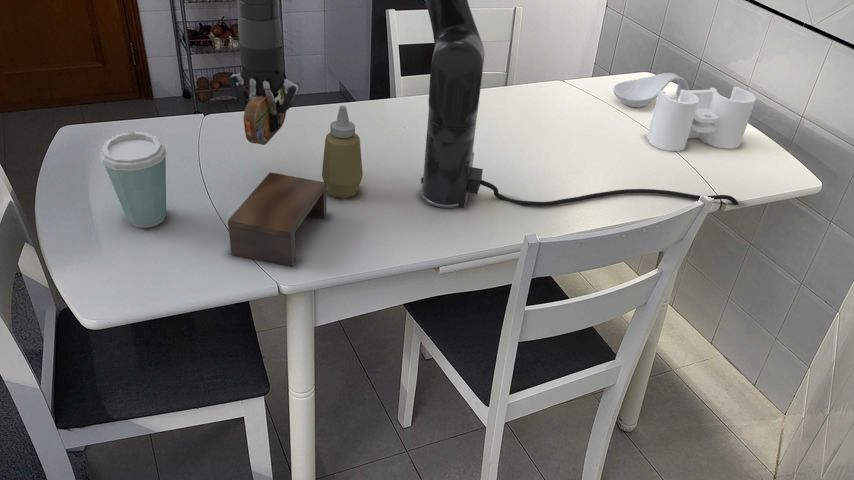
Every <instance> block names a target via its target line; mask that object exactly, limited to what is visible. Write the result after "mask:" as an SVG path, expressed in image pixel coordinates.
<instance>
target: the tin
mask: <svg viewBox="0 0 854 480" xmlns="http://www.w3.org/2000/svg"><path fill="white" fill-rule="evenodd" d="M279 91H280V102H281V104H282V103H283V101H284V99H285V96H286V93H285V89H284V88H283V86H282V87H281V89H280V90H279ZM270 114H271V111H270V106H269V104H268V102H267V98H266V96H264V95H257V96H256V97H253V98H252V99H251V100H250V101H249V102H248V104H247V106H246V107H244V112H243V126H244V133H245V138H246V140H247V141H248V142H249V143H251V144H255V145H261V146H265V145H267V144H268V143H269V142H270V140H272V138H273V137H274V136H275V135H276V134H277V133H278V132H279V131H280V130H281V129H282V127H283V125H284V123H285V121H286V115H287V111H286V112H285V113H284V114H282V113H281V127H280V128H279V129H278V131H277V132H276V133H274V132H271V122H270Z"/></svg>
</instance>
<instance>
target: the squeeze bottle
mask: <svg viewBox="0 0 854 480" xmlns="http://www.w3.org/2000/svg"><path fill="white" fill-rule="evenodd" d="M329 129H330V130H329V131H330V132H328V133H327V134H325V140H324V148H323V159H322V169H321V178H322V180H323V182H326V192H328V193H327V194H329V195H330V196H332V197H336V198H341V199H345V198H352V197H354V196H355V195H356V194H357V193H358V190H359V189H360V188H359V187H360V185H361V183H362V180H363V175H364V172H363V161H362V147H361V138H360V136H359V134H357V133H356V124H355V123H354V122H352V121H350V118H349V114H348V109H347V106H346V105H339V108H338V113H337V117H336V120H334V121H332V122H331V123H330V127H329Z"/></svg>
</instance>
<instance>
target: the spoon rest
mask: <svg viewBox="0 0 854 480" xmlns="http://www.w3.org/2000/svg"><path fill="white" fill-rule="evenodd" d="M673 81H676V82H677V88H676V91H675V94H676V95H677V96H678V97H679V95H680V91H681V90H686V91H688V90H690V87H689V83H688V81H687V80H686V79H684V78H683V77H680V76H679V75H678V74H676V73H673V72H663V73H659V74H654V75H650V76H646V77H642V78H636V79H632V80H626V81H621V82H619V83H615V85H614V86H613V88H612V91H613V94H614V96H615V97H616V99H617V100H618V101H619V102H620V103H622V104H623V105H625V106H627V107H630V108H636V109H637V108H638V109H639V108H645V107H646V106H648V105H650V104H651V103H652V102H654V101H655V100H657V97H658V94H659V91H660V90H662V91H664V89H665V88H666V87H667V86H668V84H670V83H671V82H673Z"/></svg>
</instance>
